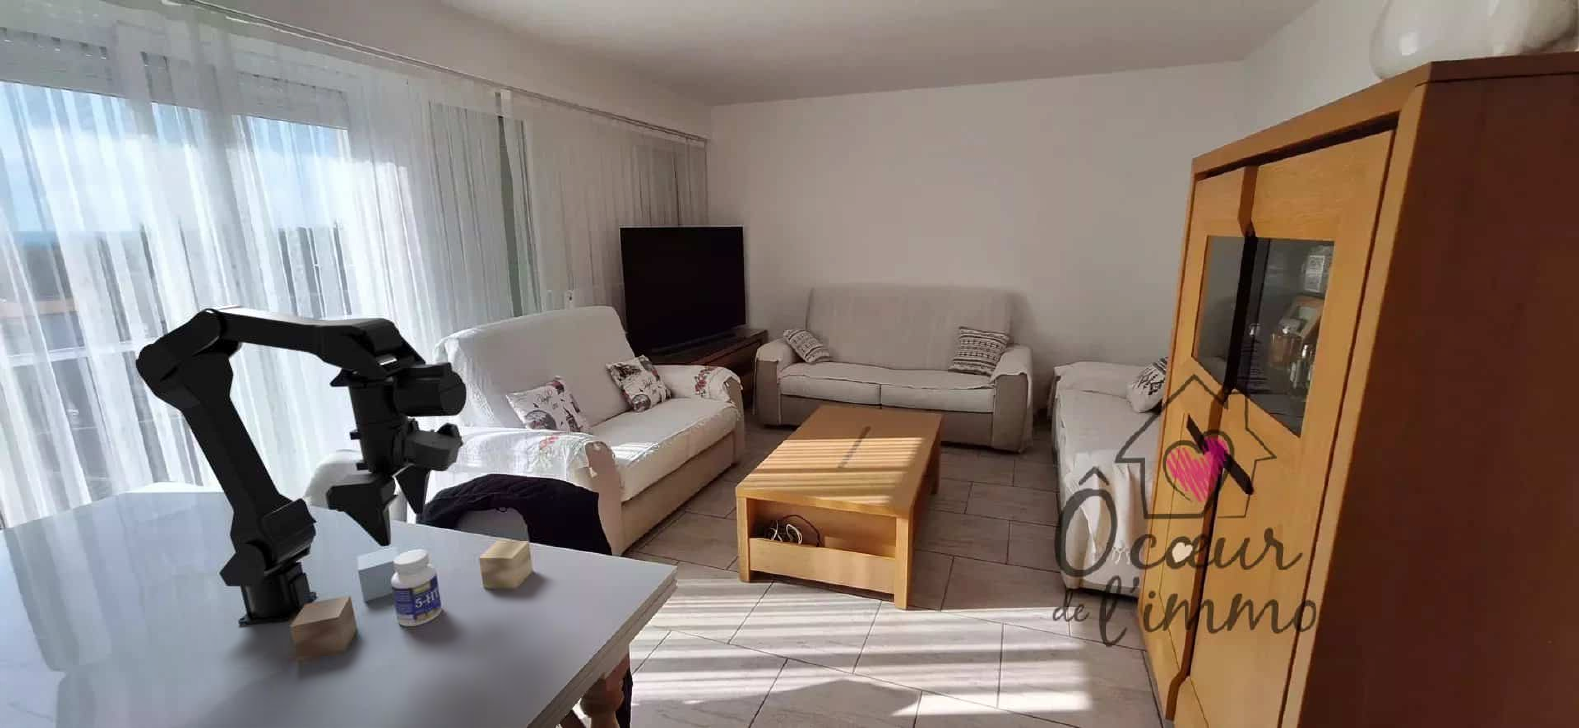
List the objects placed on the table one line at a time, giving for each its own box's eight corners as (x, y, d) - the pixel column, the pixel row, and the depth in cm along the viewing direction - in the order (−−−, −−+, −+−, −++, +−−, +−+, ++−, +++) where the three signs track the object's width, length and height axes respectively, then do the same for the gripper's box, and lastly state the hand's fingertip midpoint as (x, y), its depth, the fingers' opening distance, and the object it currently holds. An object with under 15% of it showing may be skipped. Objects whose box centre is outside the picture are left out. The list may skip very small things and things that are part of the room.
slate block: (364, 602, 91) (357, 570, 90) (363, 586, 95) (357, 556, 94) (404, 590, 93) (399, 559, 92) (402, 575, 97) (396, 545, 96)
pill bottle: (422, 629, 84) (411, 568, 82) (388, 625, 85) (377, 565, 83) (451, 606, 89) (441, 548, 87) (418, 602, 90) (408, 545, 88)
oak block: (483, 588, 93) (478, 557, 92) (501, 570, 98) (497, 540, 97) (516, 589, 93) (511, 558, 92) (532, 571, 97) (528, 541, 96)
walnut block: (298, 662, 78) (290, 626, 77) (312, 638, 83) (305, 604, 82) (345, 652, 80) (338, 616, 79) (357, 629, 84) (350, 595, 83)
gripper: (412, 435, 73) (435, 558, 77) (474, 394, 92) (490, 495, 95) (310, 443, 72) (338, 567, 76) (393, 400, 91) (412, 501, 94)
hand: (403, 528), depth 85 cm, fingers open, 9 cm apart
